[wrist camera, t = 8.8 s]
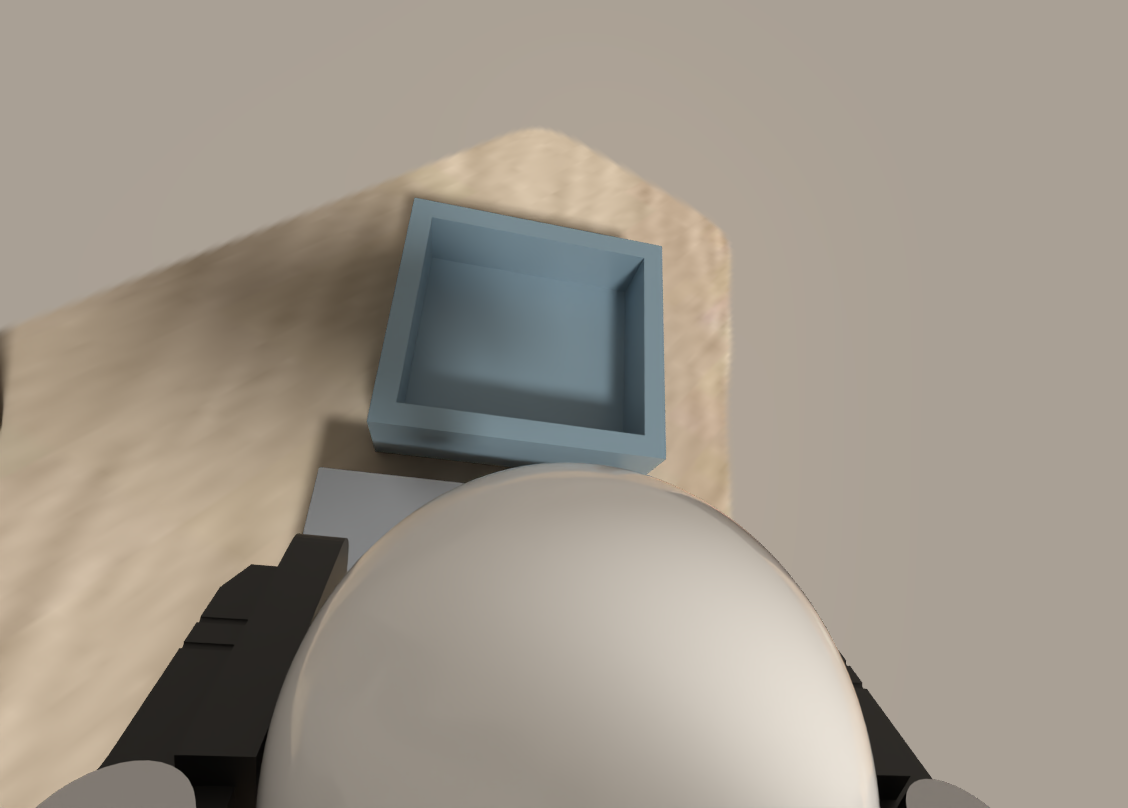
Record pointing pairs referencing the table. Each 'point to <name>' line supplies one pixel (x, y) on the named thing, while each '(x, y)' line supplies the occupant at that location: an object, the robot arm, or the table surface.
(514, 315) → the parts tray
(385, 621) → the lightbulb
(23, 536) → the table surface
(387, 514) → the socket block
